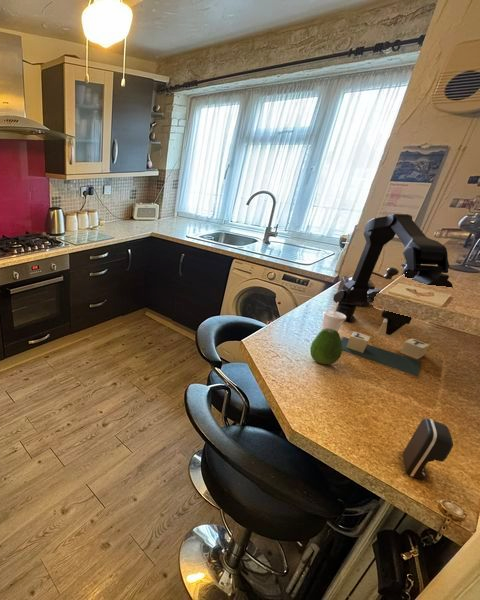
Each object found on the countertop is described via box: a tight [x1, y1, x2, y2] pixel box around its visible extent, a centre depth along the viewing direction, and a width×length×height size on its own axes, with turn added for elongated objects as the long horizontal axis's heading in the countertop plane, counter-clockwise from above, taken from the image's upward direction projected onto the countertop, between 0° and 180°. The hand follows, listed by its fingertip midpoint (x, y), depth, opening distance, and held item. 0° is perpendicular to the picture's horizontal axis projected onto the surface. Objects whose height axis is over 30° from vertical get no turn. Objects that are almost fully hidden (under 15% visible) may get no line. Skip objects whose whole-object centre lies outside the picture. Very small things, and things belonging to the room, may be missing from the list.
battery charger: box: [402, 417, 454, 480], centre depth 65 cm, size 7×4×11 cm, turn 142°
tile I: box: [377, 318, 404, 340], centre depth 100 cm, size 4×4×5 cm
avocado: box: [310, 328, 343, 365], centre depth 99 cm, size 8×8×12 cm
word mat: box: [341, 336, 422, 377], centre depth 104 cm, size 11×20×1 cm, turn 42°
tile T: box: [399, 338, 430, 360], centre depth 104 cm, size 4×4×5 cm
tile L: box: [347, 331, 371, 353], centre depth 107 cm, size 4×4×5 cm
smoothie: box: [320, 302, 346, 333], centre depth 111 cm, size 6×6×14 cm
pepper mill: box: [336, 267, 400, 308], centre depth 138 cm, size 16×11×18 cm
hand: (389, 331), depth 101 cm, fingers closed on tile I, 4 cm apart
